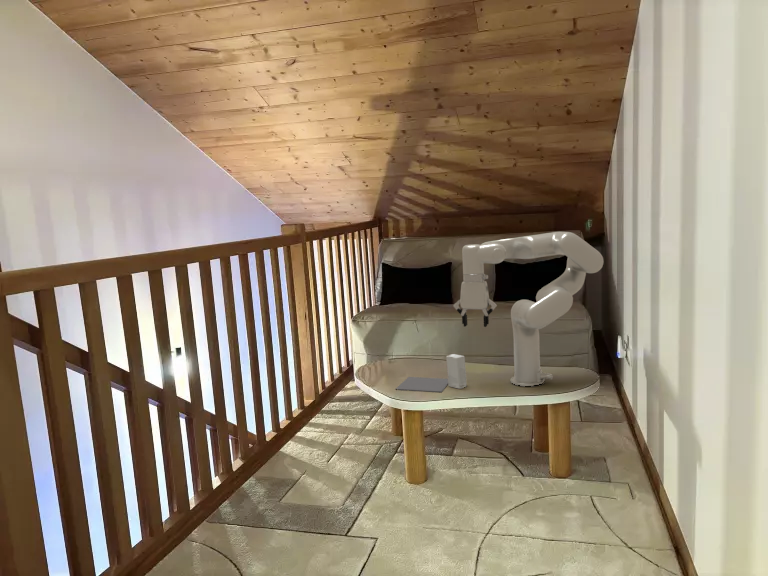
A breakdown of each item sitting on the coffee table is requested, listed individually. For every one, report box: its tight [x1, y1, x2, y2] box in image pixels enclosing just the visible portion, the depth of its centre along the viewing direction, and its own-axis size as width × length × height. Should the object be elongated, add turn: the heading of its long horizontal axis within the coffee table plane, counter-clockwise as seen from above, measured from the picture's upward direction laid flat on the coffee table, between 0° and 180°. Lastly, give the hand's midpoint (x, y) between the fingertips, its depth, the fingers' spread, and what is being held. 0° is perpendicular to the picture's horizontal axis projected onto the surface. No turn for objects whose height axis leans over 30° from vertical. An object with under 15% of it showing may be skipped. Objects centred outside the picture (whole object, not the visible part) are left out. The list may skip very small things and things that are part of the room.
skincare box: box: [445, 353, 468, 390], centre depth 219 cm, size 6×4×12 cm
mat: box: [395, 376, 449, 393], centre depth 225 cm, size 18×16×1 cm
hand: (475, 325), depth 214 cm, fingers open, 6 cm apart
